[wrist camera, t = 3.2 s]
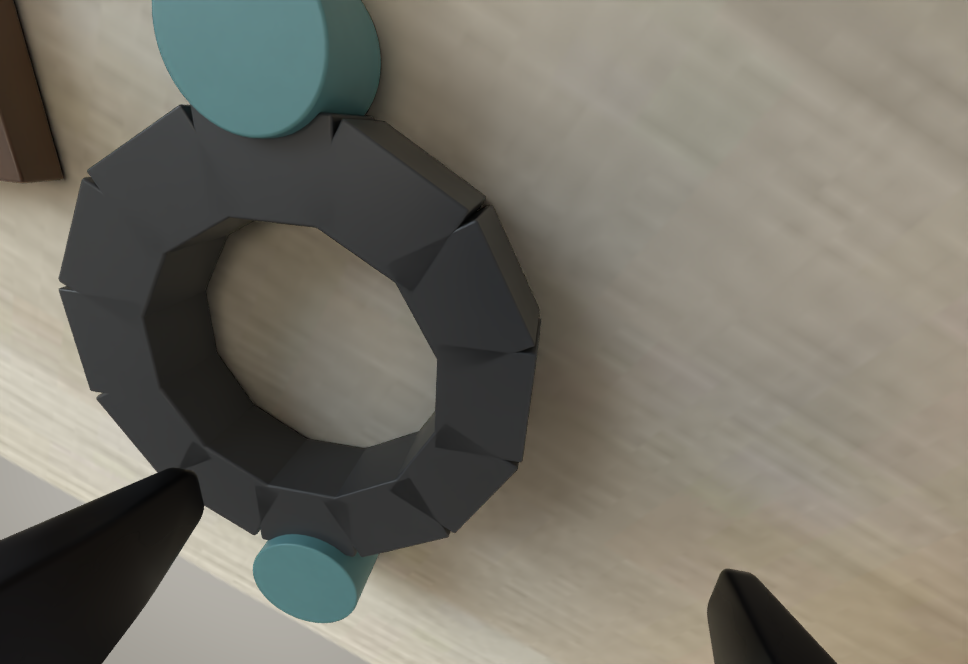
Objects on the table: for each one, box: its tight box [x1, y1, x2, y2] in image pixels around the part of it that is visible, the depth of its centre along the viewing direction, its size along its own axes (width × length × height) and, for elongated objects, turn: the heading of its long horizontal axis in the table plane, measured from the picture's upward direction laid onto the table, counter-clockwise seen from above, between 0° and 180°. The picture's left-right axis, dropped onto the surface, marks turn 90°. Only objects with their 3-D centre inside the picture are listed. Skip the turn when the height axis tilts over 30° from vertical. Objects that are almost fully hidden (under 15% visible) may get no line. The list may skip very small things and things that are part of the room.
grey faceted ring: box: [59, 0, 541, 623], centre depth 13 cm, size 13×19×3 cm
